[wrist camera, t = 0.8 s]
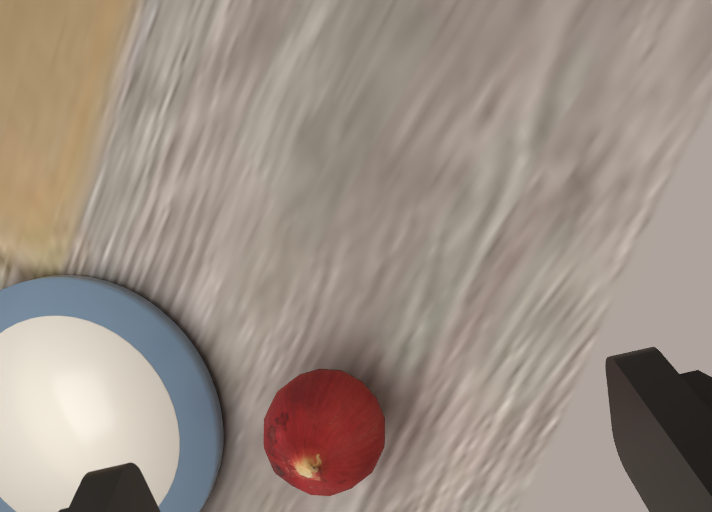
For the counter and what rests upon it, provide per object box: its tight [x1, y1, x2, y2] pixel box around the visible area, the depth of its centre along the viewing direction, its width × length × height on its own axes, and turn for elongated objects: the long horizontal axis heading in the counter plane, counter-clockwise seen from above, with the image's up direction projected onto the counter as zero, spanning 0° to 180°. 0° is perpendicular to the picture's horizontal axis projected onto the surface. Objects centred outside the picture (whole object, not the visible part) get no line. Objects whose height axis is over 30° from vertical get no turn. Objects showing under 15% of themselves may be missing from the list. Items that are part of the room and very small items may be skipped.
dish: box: [0, 274, 223, 512], centre depth 38 cm, size 17×17×2 cm
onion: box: [264, 369, 385, 496], centre depth 32 cm, size 6×6×8 cm
